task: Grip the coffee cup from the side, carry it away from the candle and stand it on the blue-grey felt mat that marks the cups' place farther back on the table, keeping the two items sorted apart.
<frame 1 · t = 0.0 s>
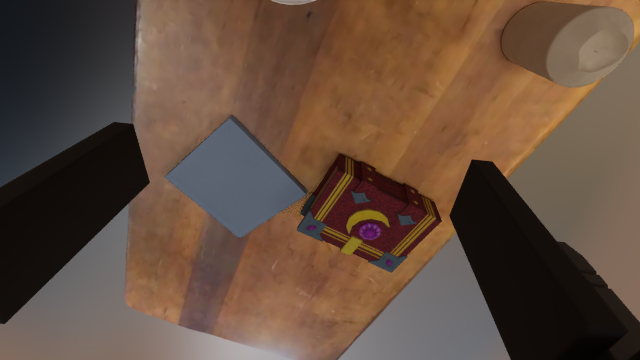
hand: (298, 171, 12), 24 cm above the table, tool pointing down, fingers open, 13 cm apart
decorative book: (369, 205, 42), on the table
cup mat: (237, 182, 42), on the table
candle: (529, 34, 29), on the table
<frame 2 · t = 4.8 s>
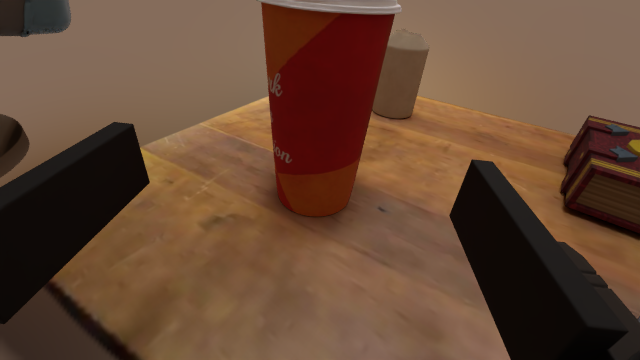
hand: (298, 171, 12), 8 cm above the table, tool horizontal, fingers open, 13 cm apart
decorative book: (631, 196, 28), on the table
candle: (391, 112, 42), on the table
coffee cup: (313, 195, 25), on the table
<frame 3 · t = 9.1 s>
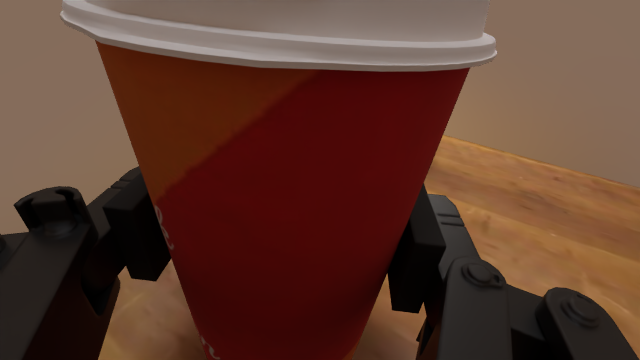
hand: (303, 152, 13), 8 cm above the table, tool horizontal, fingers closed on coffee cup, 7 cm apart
coffee cup: (281, 353, 14), on the table, touching gripper
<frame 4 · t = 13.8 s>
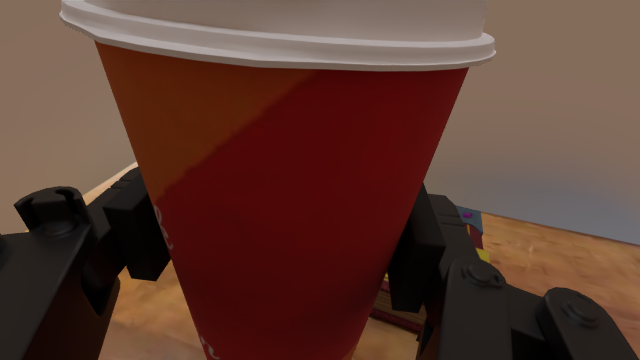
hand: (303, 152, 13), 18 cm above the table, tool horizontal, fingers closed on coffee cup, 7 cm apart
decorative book: (415, 267, 33), on the table
coffee cup: (281, 352, 14), point 10 cm above the table, touching gripper
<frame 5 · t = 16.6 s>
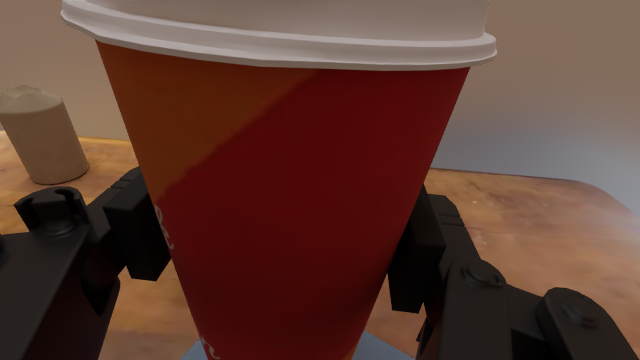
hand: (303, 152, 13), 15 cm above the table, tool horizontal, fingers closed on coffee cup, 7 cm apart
candle: (62, 173, 36), on the table
coffee cup: (281, 352, 14), point 7 cm above the table, touching gripper
when the fingers open (9 cm above the table, at t = 18.6 s): coffee cup stays where it is, resting on cup mat.
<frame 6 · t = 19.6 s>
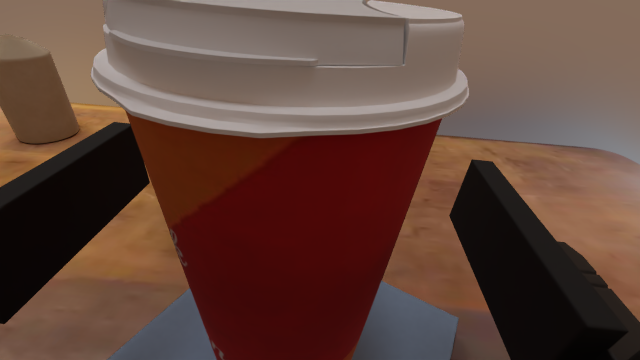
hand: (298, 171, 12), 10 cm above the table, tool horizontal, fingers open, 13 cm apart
candle: (51, 134, 34), on the table
coffee cup: (286, 354, 15), point 1 cm above the table, touching cup mat
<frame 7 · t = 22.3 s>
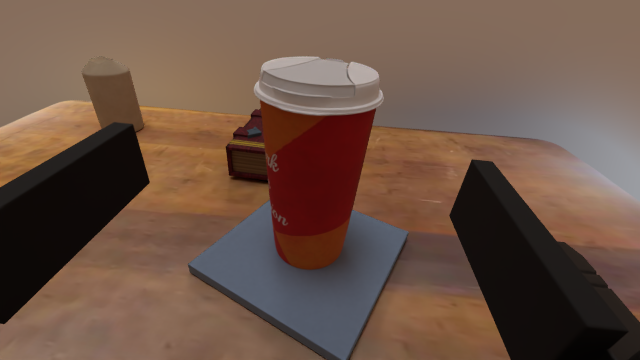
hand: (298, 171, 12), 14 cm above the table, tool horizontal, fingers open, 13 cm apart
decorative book: (287, 155, 42), on the table
cup mat: (308, 254, 27), on the table
candle: (124, 129, 46), on the table
coffee cup: (308, 245, 27), point 1 cm above the table, touching cup mat
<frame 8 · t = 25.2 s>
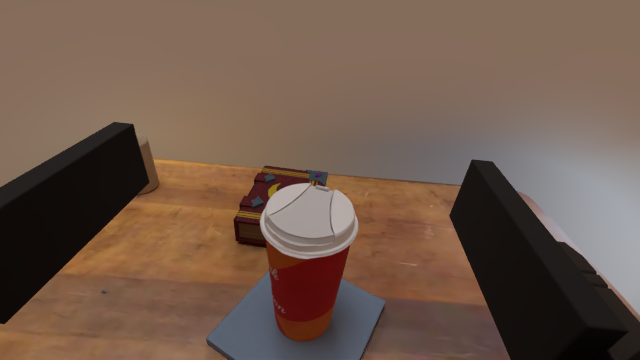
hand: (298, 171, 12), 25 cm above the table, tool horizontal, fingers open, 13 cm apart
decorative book: (286, 214, 49), on the table
cup mat: (302, 323, 33), on the table
candle: (141, 186, 52), on the table
coffee cup: (302, 316, 33), point 1 cm above the table, touching cup mat
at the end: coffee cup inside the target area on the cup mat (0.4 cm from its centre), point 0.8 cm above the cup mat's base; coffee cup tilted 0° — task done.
